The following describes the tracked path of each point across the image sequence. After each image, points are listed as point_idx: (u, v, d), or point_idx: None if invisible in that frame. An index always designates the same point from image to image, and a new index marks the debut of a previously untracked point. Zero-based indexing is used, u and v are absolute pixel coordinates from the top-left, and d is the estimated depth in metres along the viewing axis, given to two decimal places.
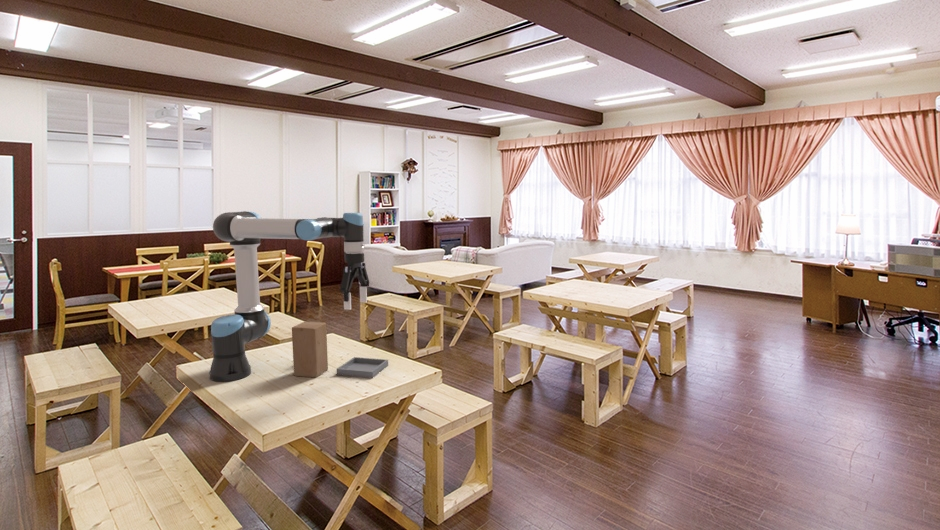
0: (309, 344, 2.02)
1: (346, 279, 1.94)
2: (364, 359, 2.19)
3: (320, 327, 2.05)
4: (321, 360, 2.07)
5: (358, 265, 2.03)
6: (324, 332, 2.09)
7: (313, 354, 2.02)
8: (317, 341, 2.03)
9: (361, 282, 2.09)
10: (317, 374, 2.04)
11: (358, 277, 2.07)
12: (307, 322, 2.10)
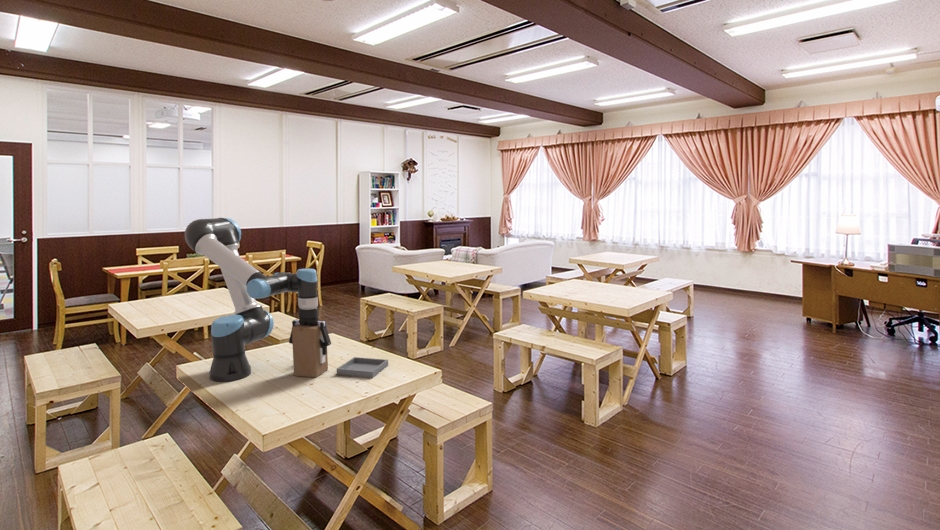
0: (309, 344, 2.02)
1: None
2: (364, 359, 2.19)
3: None
4: None
5: (310, 320, 2.05)
6: None
7: (312, 354, 2.02)
8: (317, 341, 2.03)
9: None
10: (317, 374, 2.04)
11: None
12: None
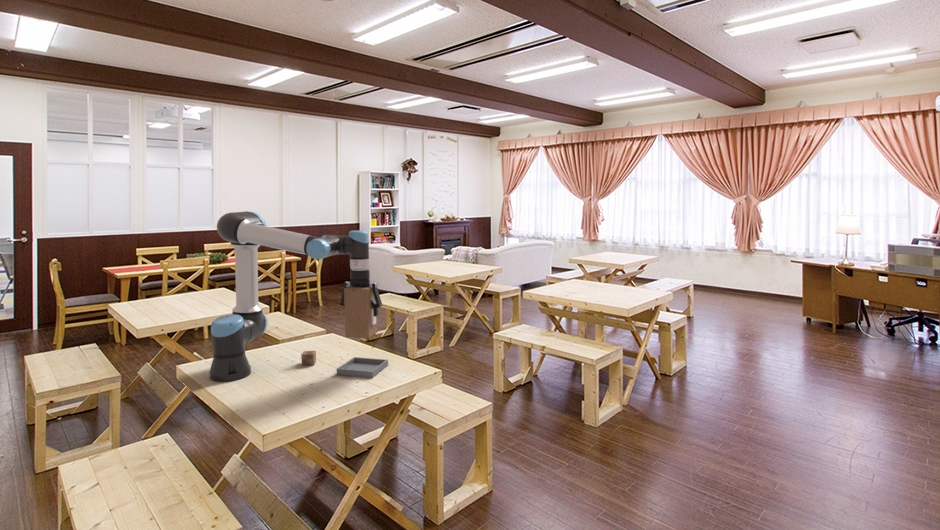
0: (361, 305, 2.03)
1: None
2: (364, 359, 2.19)
3: (371, 288, 2.06)
4: None
5: (361, 281, 2.06)
6: None
7: (365, 314, 2.03)
8: (369, 302, 2.04)
9: None
10: (369, 335, 2.05)
11: None
12: None
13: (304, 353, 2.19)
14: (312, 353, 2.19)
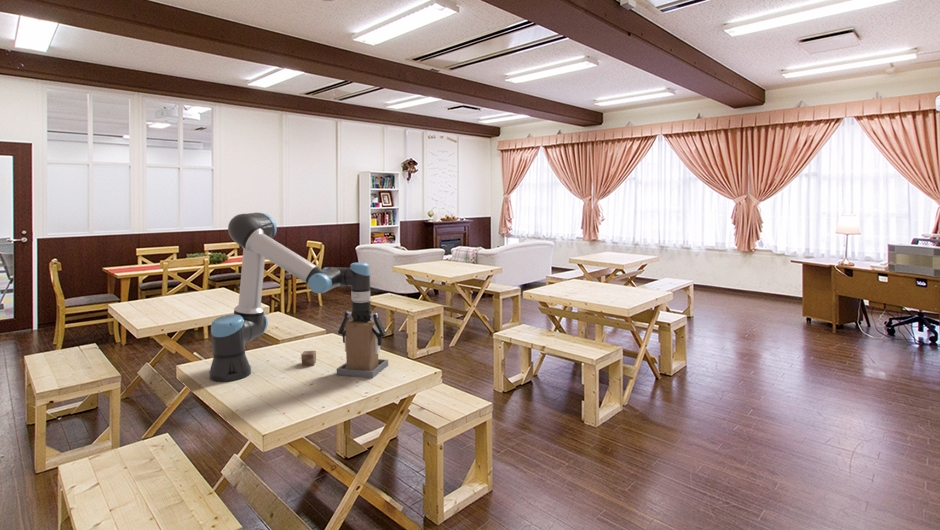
0: (362, 340, 2.05)
1: None
2: None
3: (373, 323, 2.08)
4: (373, 356, 2.10)
5: (362, 314, 2.08)
6: None
7: (366, 350, 2.05)
8: (370, 337, 2.06)
9: None
10: (370, 370, 2.07)
11: None
12: None
13: (304, 353, 2.19)
14: (312, 353, 2.19)
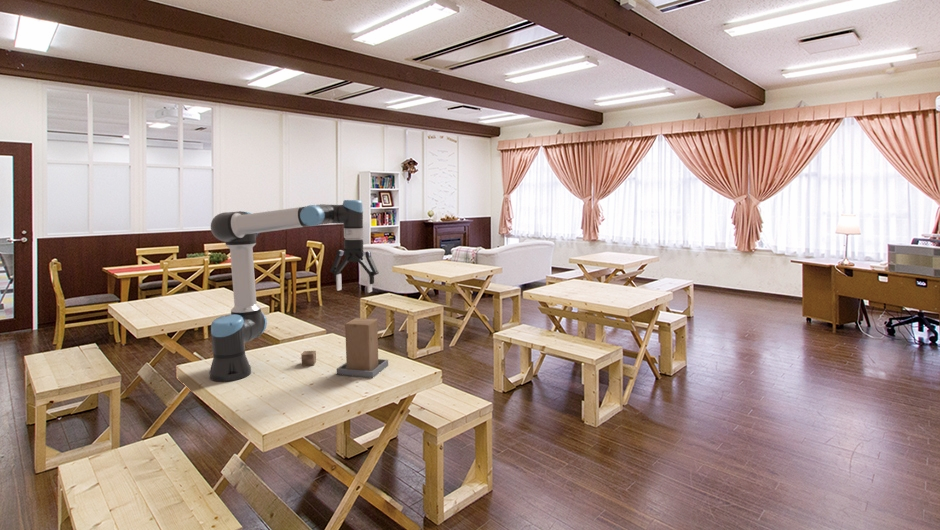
0: (362, 340, 2.05)
1: None
2: None
3: (372, 323, 2.08)
4: (373, 356, 2.10)
5: (354, 252, 2.06)
6: (375, 328, 2.12)
7: (366, 350, 2.05)
8: (370, 337, 2.06)
9: None
10: (370, 370, 2.07)
11: None
12: (358, 318, 2.13)
13: (304, 353, 2.19)
14: (312, 353, 2.19)
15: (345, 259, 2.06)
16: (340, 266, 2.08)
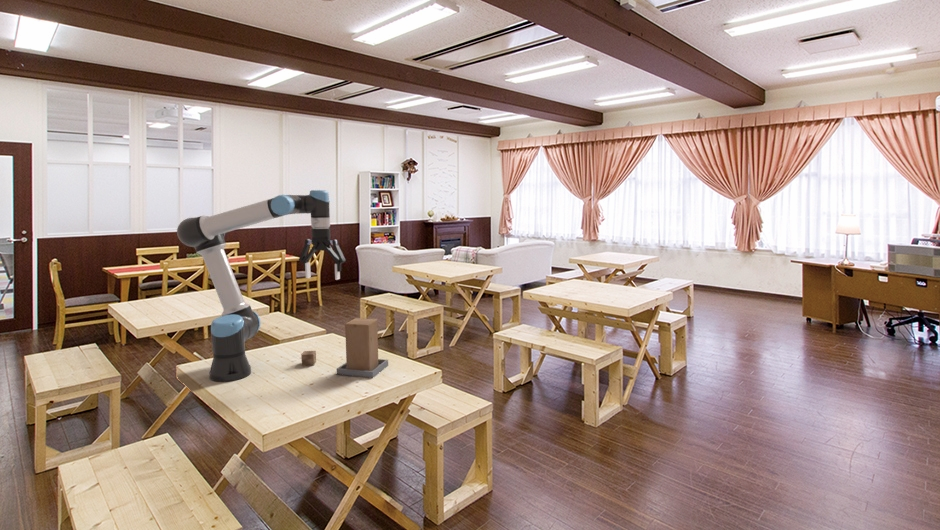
0: (362, 340, 2.05)
1: None
2: None
3: (372, 323, 2.08)
4: (373, 356, 2.10)
5: (322, 240, 2.12)
6: (375, 328, 2.12)
7: (366, 350, 2.05)
8: (370, 337, 2.06)
9: None
10: (370, 370, 2.07)
11: None
12: (358, 318, 2.13)
13: (304, 353, 2.19)
14: (312, 353, 2.19)
15: (313, 248, 2.13)
16: (308, 255, 2.15)
